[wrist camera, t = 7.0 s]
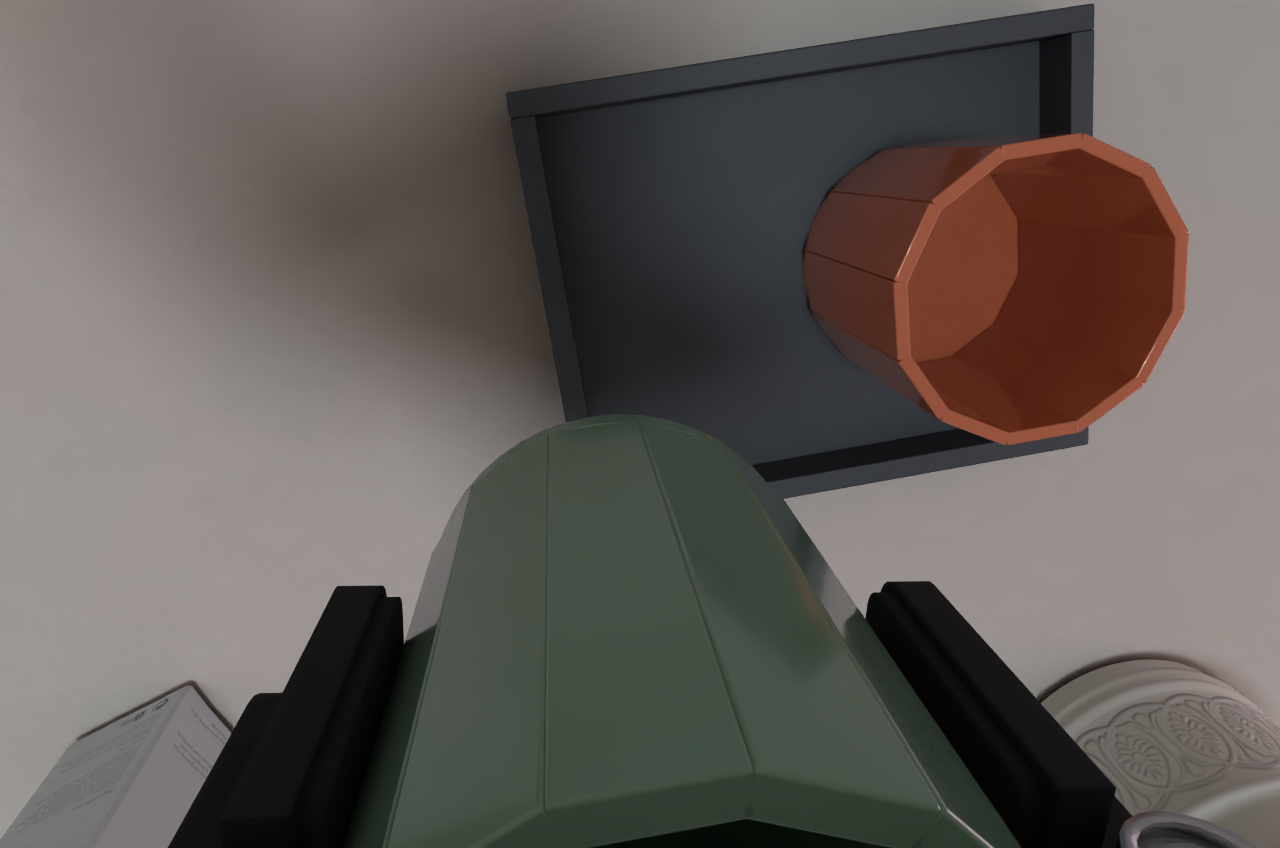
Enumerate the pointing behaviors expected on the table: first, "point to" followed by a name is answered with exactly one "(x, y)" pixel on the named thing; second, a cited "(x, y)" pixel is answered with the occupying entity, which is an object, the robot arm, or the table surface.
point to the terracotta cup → (1001, 278)
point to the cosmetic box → (125, 780)
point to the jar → (1177, 744)
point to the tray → (764, 232)
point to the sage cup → (649, 671)
